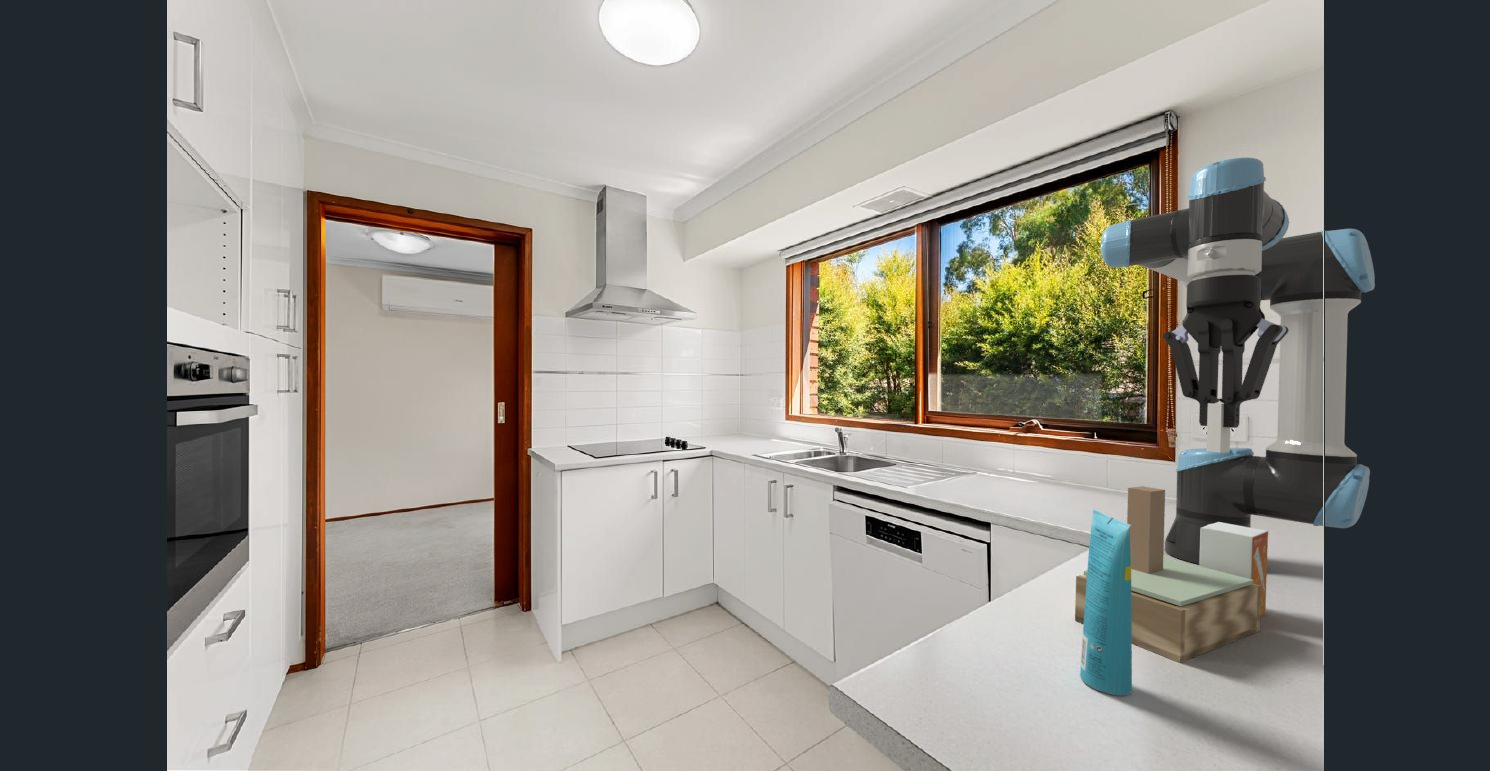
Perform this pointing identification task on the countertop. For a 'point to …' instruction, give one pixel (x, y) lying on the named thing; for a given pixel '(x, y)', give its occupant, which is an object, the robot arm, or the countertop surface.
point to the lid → (1162, 573)
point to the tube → (1108, 608)
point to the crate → (1187, 621)
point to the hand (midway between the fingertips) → (1218, 451)
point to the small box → (1236, 553)
